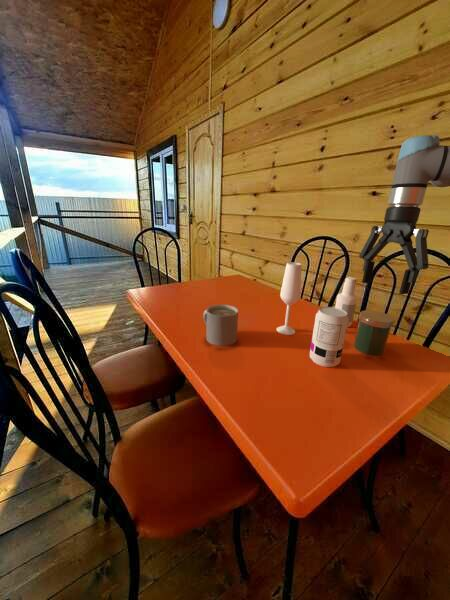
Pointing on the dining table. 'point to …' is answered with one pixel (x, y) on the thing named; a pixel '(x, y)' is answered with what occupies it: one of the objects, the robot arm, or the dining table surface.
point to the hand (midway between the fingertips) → (383, 287)
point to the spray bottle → (347, 299)
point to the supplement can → (328, 336)
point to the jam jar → (371, 339)
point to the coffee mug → (221, 324)
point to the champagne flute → (290, 292)
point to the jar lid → (376, 319)
